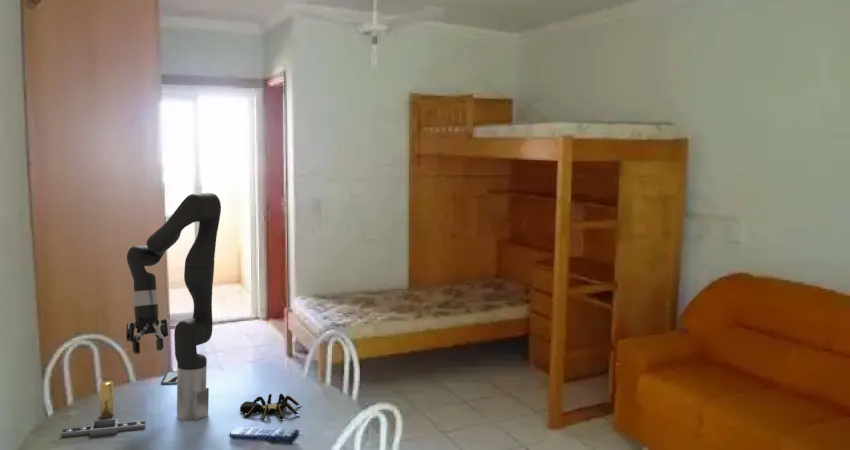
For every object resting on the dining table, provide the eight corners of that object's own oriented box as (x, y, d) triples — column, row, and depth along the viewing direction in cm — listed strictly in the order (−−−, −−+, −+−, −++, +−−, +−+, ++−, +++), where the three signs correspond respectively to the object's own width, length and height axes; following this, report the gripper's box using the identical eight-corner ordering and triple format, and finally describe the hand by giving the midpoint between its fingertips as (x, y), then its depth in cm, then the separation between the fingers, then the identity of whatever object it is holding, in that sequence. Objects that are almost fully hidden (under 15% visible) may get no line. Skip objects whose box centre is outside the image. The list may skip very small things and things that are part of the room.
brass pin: (116, 414, 222) (116, 382, 221) (106, 418, 219) (106, 386, 218) (107, 412, 224) (107, 380, 223) (97, 416, 220) (97, 384, 219)
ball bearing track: (145, 421, 218) (145, 415, 217) (145, 430, 211) (145, 424, 210) (63, 429, 208) (63, 423, 208) (60, 439, 201) (60, 433, 201)
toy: (301, 422, 224) (301, 408, 223) (236, 422, 221) (236, 408, 221) (304, 403, 241) (304, 390, 241) (244, 403, 238) (244, 390, 238)
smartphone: (185, 371, 268) (180, 382, 254) (185, 373, 268) (180, 385, 254) (166, 371, 267) (160, 383, 252) (166, 373, 267) (160, 385, 252)
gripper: (133, 305, 219) (136, 354, 218) (171, 301, 231) (173, 348, 230) (120, 306, 223) (122, 355, 222) (157, 302, 235) (160, 349, 234)
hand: (148, 351), depth 226 cm, fingers open, 8 cm apart
